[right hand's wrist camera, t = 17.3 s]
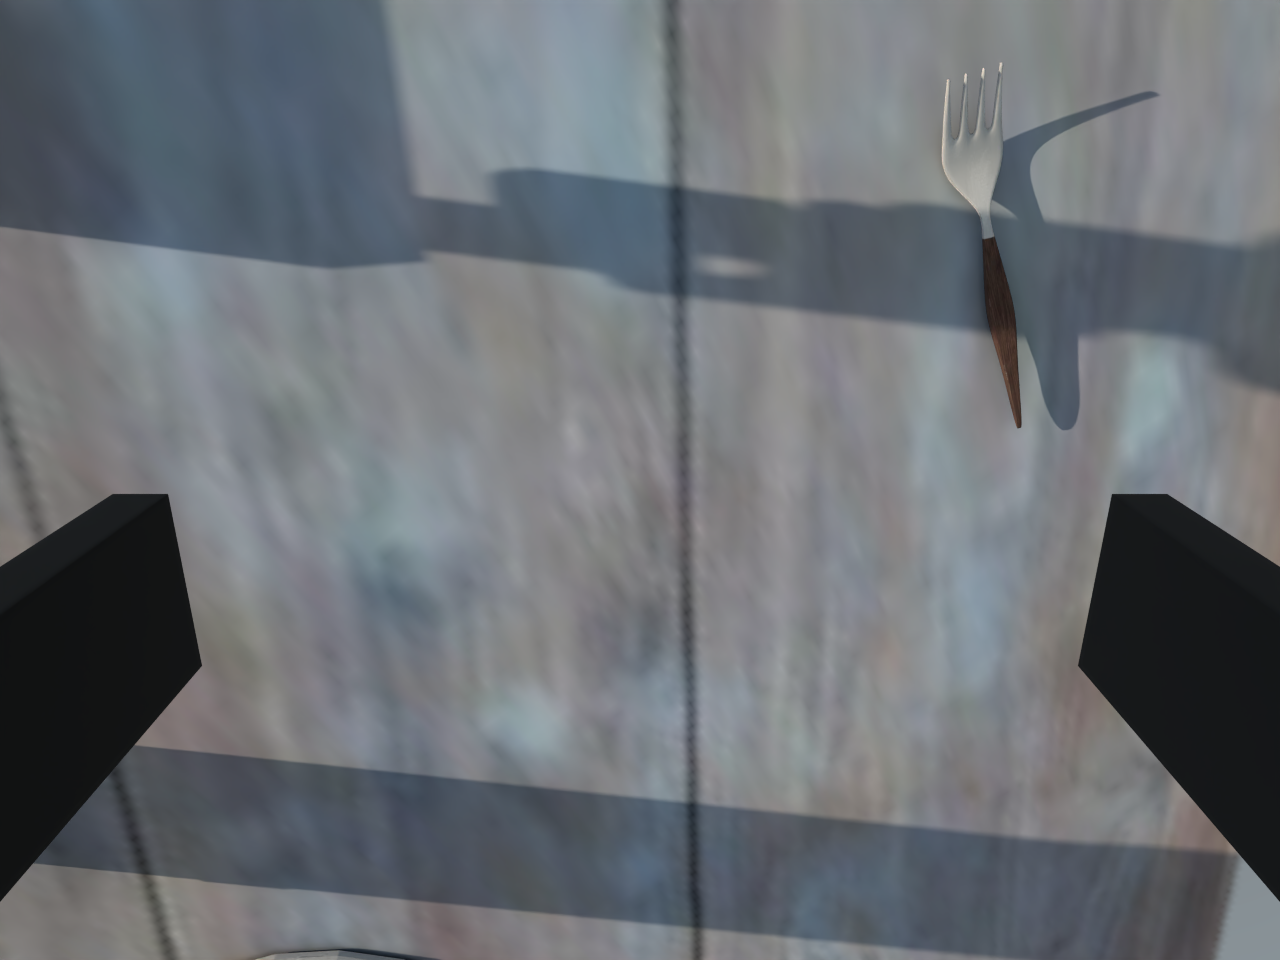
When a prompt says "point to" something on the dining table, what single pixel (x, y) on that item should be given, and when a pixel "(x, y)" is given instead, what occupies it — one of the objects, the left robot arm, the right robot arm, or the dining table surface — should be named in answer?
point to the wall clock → (325, 956)
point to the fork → (985, 218)
